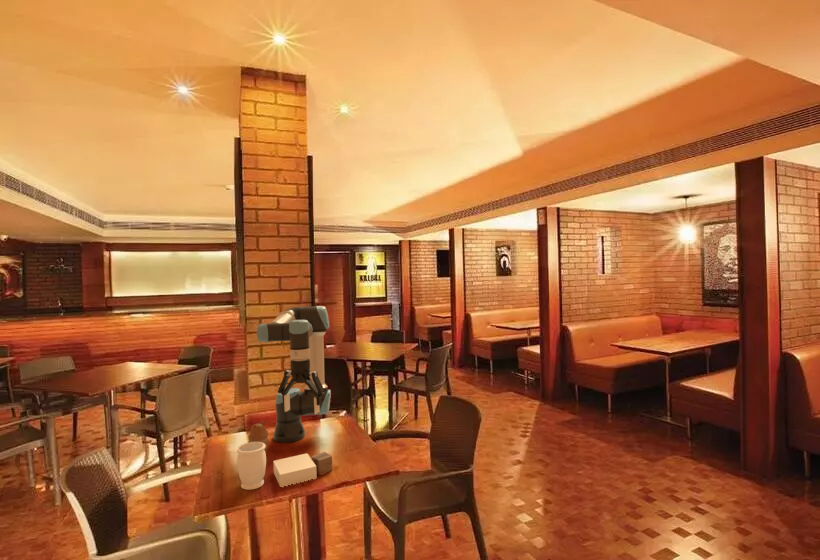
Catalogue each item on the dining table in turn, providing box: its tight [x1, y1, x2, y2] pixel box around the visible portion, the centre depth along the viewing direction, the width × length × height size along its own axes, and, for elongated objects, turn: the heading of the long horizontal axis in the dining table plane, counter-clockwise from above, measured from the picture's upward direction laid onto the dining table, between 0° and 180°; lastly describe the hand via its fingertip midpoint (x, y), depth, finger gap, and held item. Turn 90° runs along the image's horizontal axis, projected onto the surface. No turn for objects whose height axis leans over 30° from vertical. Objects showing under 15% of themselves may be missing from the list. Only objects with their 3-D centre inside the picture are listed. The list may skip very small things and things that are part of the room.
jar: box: [236, 442, 267, 491], centre depth 167 cm, size 11×10×15 cm
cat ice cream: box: [247, 420, 269, 455], centre depth 186 cm, size 9×8×18 cm
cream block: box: [273, 452, 318, 488], centre depth 174 cm, size 14×14×5 cm
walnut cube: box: [311, 451, 333, 476], centre depth 178 cm, size 6×6×6 cm
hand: (302, 411), depth 172 cm, fingers open, 13 cm apart
